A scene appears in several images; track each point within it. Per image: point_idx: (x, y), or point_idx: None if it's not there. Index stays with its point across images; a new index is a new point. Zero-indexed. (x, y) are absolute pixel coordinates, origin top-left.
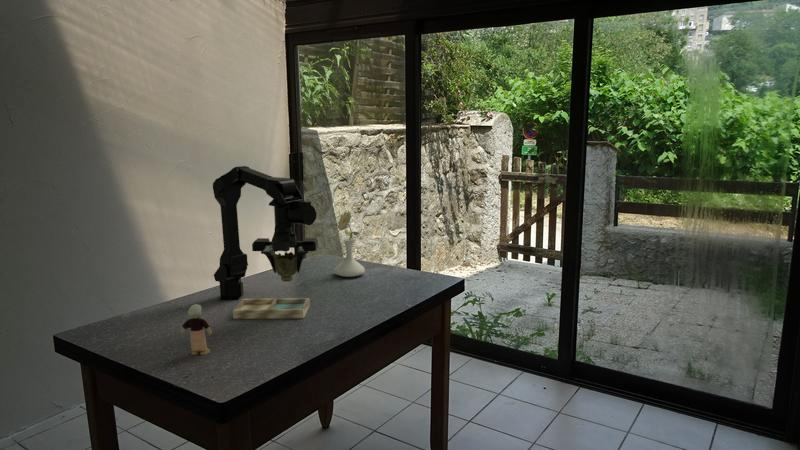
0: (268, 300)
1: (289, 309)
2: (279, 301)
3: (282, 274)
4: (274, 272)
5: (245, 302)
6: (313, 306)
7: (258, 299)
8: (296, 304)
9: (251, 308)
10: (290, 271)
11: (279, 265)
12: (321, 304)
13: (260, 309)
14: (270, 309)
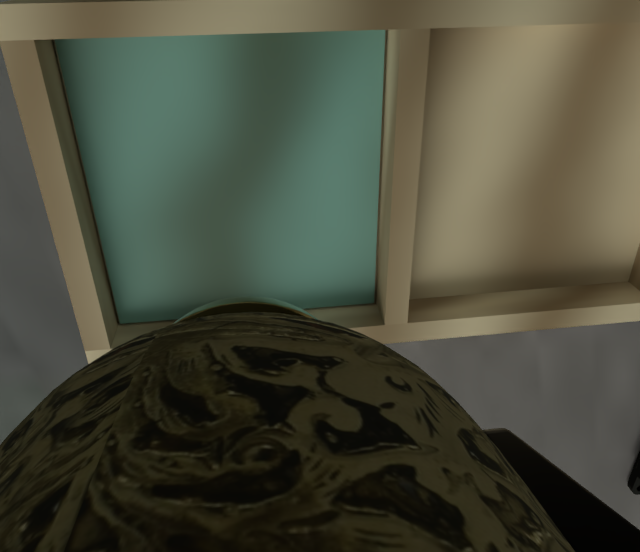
0: (454, 312)
1: (172, 26)
2: (358, 315)
3: (296, 317)
4: (503, 429)
5: (632, 288)
6: (66, 320)
7: (542, 311)
8: (196, 287)
9: (576, 184)
10: (62, 393)
11: (428, 491)
12: (17, 366)
13: (502, 24)
14: (394, 23)
